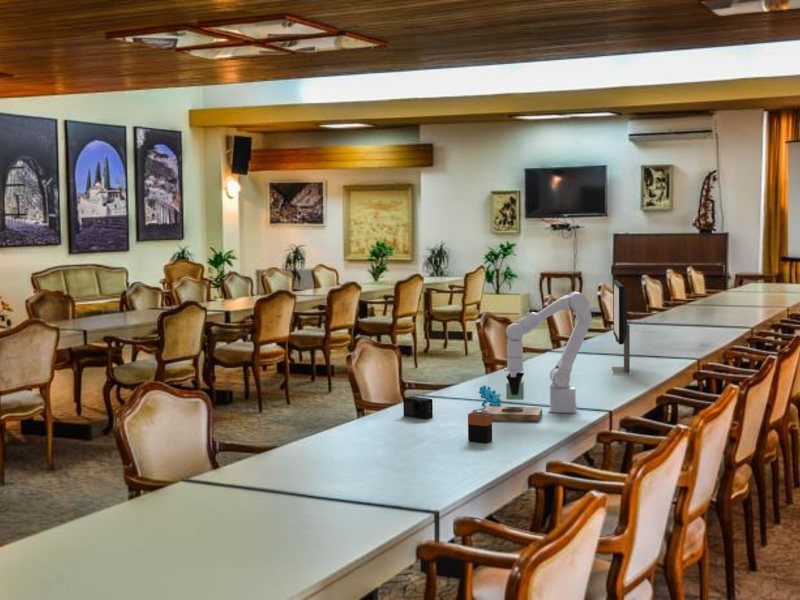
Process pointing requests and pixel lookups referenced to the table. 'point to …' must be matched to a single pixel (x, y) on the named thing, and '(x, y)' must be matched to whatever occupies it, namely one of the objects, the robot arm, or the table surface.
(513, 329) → the robot arm
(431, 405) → the digital camera
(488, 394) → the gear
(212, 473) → the table surface
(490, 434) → the battery
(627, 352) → the computer monitor
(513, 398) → the teal striped block
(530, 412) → the keyed socket
